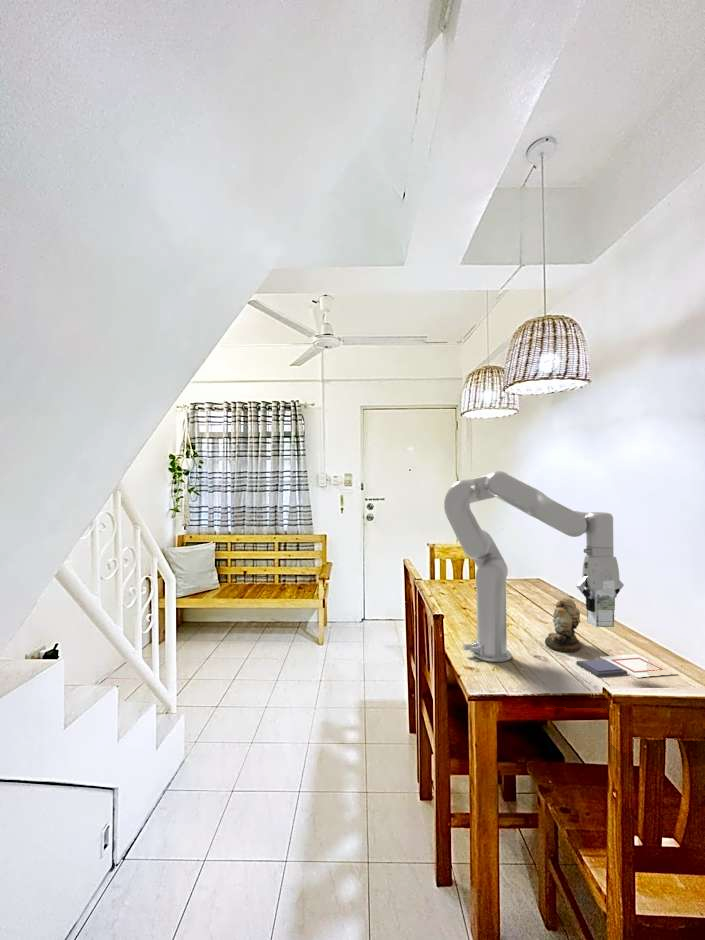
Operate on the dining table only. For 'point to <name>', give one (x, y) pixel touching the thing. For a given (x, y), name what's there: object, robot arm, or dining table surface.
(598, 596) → the syrup box
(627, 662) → the marked sheet
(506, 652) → the robot arm
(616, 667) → the ink pad
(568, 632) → the tan lumpy figure
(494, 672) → the dining table surface
